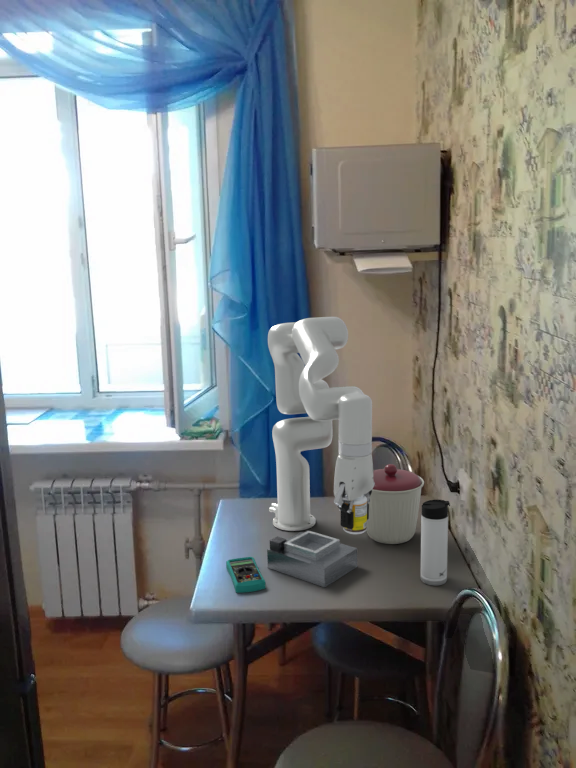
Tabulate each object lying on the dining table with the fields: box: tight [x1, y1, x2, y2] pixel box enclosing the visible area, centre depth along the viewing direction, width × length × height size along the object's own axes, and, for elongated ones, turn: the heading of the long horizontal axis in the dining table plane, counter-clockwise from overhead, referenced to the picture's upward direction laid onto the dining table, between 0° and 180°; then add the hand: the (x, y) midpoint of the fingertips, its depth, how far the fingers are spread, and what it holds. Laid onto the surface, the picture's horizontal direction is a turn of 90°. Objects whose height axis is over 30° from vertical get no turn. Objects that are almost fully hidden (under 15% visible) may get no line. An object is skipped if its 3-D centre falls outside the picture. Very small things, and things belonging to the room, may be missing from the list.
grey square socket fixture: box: [266, 530, 358, 589], centre depth 179 cm, size 18×14×7 cm
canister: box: [365, 463, 425, 545], centre depth 196 cm, size 18×18×21 cm
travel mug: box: [420, 499, 451, 586], centre depth 170 cm, size 6×7×20 cm
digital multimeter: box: [225, 556, 267, 594], centre depth 175 cm, size 7×15×3 cm, turn 14°
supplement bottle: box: [342, 495, 367, 535], centre depth 164 cm, size 6×6×10 cm
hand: (354, 522), depth 164 cm, fingers closed on supplement bottle, 5 cm apart
